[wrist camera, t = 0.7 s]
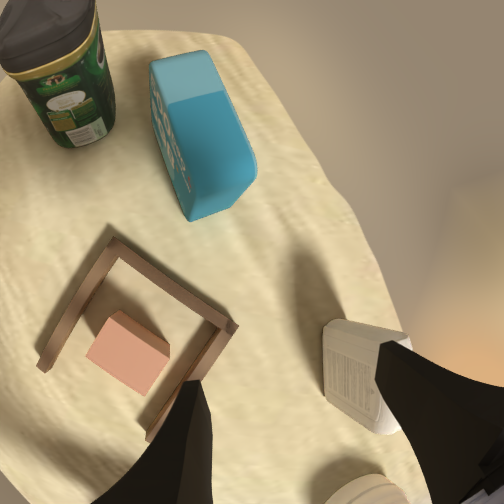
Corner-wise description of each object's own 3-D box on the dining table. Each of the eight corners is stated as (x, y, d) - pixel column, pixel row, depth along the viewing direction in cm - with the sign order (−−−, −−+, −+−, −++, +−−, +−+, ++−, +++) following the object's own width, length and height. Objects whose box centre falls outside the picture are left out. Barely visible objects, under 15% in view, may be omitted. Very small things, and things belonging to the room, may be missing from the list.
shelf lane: (155, 437, 27) (155, 446, 25) (43, 361, 25) (35, 366, 23) (234, 322, 31) (239, 325, 29) (117, 238, 28) (113, 236, 26)
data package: (151, 124, 30) (147, 54, 18) (190, 112, 31) (204, 41, 19) (187, 225, 30) (198, 194, 19) (229, 210, 31) (263, 172, 20)
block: (148, 376, 28) (144, 396, 23) (98, 343, 27) (85, 356, 22) (169, 344, 29) (169, 358, 23) (119, 309, 28) (109, 316, 22)
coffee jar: (53, 90, 27) (4, -19, 9) (113, 72, 29) (97, -52, 11) (53, 159, 27) (-28, 59, 9) (120, 140, 29) (87, 12, 11)
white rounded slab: (352, 395, 33) (419, 431, 22) (321, 404, 32) (384, 448, 20) (350, 315, 34) (426, 328, 22) (318, 321, 33) (389, 339, 21)
